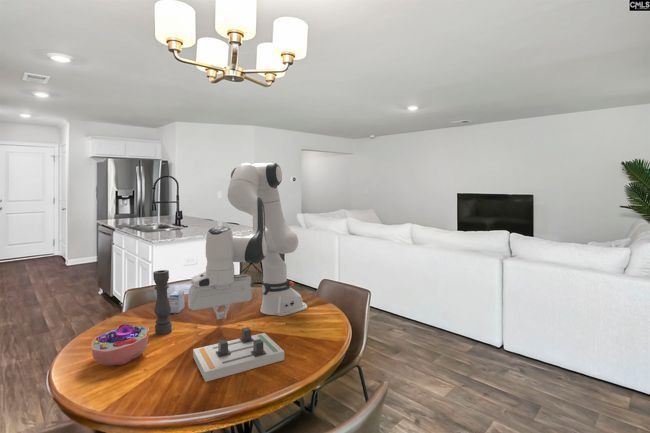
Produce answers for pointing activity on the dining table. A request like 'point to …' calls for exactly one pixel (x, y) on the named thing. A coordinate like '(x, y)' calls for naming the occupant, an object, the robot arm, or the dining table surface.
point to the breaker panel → (235, 357)
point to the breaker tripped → (222, 348)
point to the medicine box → (176, 301)
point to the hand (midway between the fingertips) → (221, 318)
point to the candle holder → (162, 303)
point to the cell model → (120, 344)
